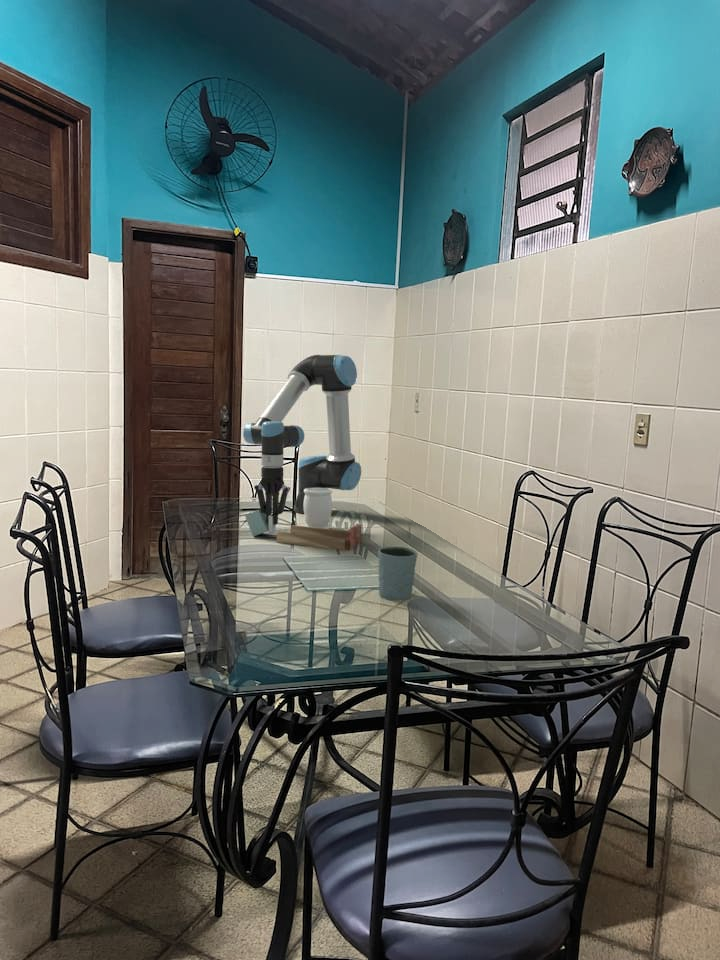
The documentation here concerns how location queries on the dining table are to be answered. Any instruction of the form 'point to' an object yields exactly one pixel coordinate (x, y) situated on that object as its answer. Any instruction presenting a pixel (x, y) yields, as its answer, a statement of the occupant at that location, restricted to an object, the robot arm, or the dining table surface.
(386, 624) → the dining table surface
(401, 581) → the blue-grey cup
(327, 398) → the robot arm
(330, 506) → the jar
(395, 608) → the dining table surface
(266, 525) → the block
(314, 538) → the trough
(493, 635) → the dining table surface
